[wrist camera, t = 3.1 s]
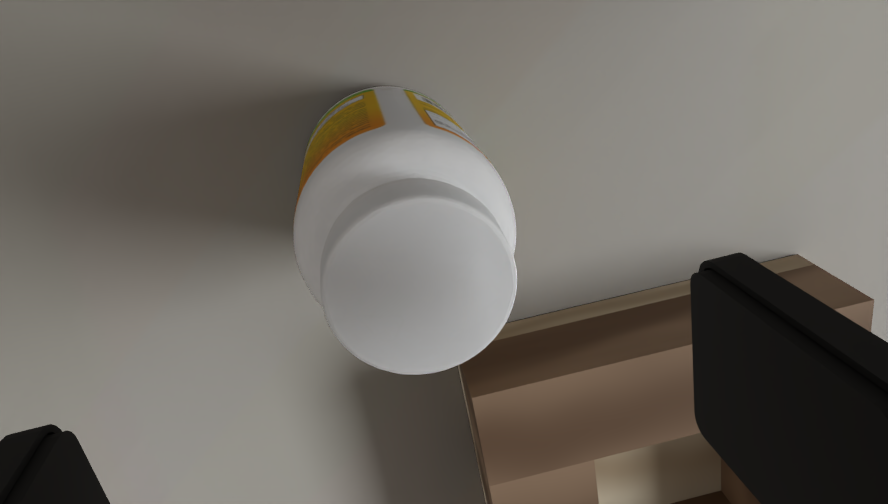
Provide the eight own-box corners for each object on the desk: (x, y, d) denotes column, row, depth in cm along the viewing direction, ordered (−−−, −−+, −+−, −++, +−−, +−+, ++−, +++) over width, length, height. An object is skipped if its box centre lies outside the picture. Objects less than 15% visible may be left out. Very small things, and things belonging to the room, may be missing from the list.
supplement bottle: (307, 242, 22) (289, 413, 14) (301, 81, 20) (273, 160, 11) (461, 239, 23) (539, 399, 14) (470, 85, 21) (567, 161, 12)
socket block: (451, 336, 25) (471, 398, 21) (797, 254, 26) (873, 299, 22) (503, 590, 30) (526, 673, 27) (784, 515, 31) (844, 586, 28)
